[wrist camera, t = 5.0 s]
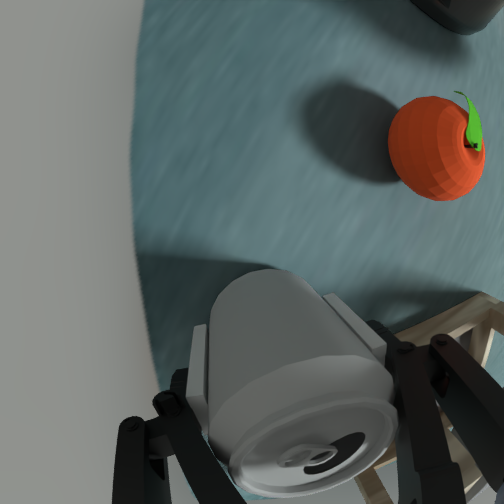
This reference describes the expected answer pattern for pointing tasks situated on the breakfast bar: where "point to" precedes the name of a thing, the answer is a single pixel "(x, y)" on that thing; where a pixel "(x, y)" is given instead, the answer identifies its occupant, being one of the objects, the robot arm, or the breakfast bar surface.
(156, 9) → the breakfast bar surface
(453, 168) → the clementine
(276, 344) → the can
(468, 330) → the frame
